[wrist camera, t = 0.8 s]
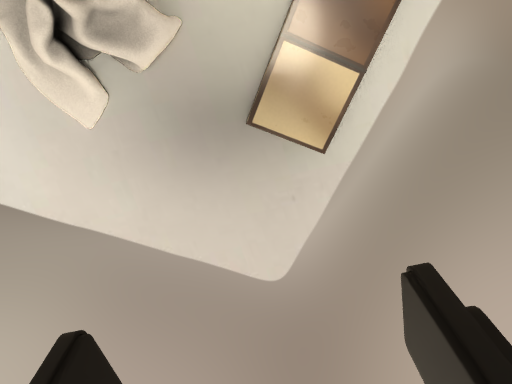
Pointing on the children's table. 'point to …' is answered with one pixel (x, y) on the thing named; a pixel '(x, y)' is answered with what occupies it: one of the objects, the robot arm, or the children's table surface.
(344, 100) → the board
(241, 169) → the children's table surface
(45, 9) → the cloth
